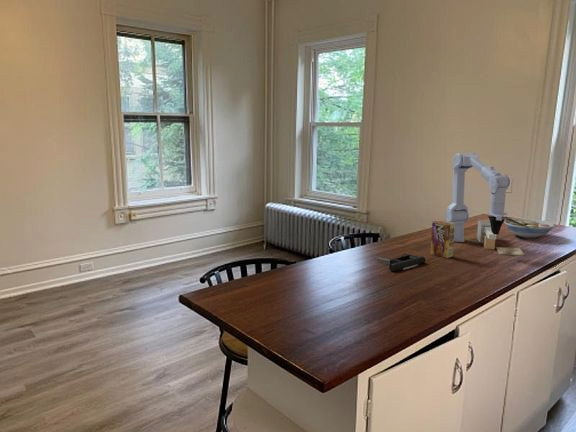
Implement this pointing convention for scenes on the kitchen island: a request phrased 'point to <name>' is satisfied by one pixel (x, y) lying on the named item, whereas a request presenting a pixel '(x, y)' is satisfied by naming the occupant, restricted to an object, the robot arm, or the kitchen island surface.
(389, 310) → the kitchen island surface
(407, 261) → the door handle
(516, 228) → the ramen bowl
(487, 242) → the tan rectangular block
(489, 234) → the white long bar
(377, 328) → the kitchen island surface
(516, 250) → the pad
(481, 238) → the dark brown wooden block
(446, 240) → the candy box
